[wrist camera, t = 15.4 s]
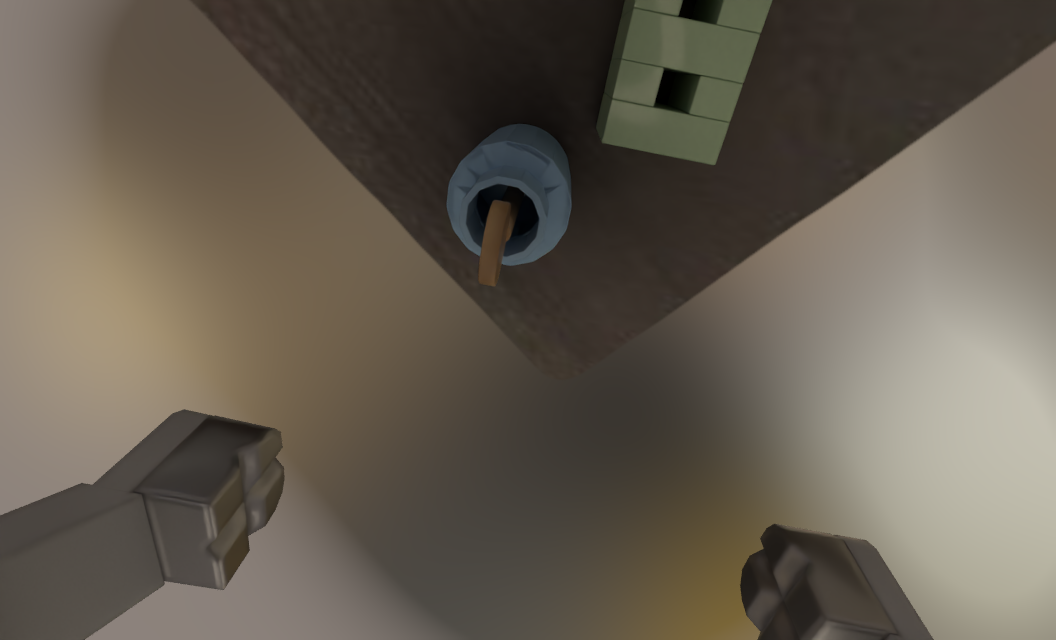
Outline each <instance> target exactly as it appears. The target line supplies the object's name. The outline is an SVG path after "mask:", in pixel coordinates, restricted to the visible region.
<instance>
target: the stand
mask: <svg viewBox="0 0 1056 640" xmlns="http://www.w3.org/2000/svg"><path fill="white" fill-rule="evenodd" d="M682 2H683V0H625V2H624V6H623V11H622V15H621V17H622V18H621V19H620V24H619V28H618V32H617V37H616V41H615V46H614V50H613V54H612V60H611V63H610V67H609V72H608V76H607V81H606V85H605V89H604V94H603V98H602V102H601V107H600V111H599V116H598V120H597V124H596V130H597V132H598V135H599V137H600V139H601V142H602V143H605V144H610V145H615V146H620V147H625V148H630V149H635V150H640V151H645V152H650V153H655V154H660V155H665V156H670V157H675V158H680V159H685V160H690V161H695V162H700V163H705V164H710V165H715V164H716V161H717V158H718V155H719V152H720V150H721V147H722V144H723V141H724V138H725V135H726V132H727V129H728V126H729V122H730V121H731V118H732V115H733V112H734V109H735V106H736V103H737V100H738V97H739V95H740V92H741V89H742V86H743V84H742V83H743V82H744V80H745V77H746V74H747V72H748V69H749V66H750V63H751V60H752V57H753V54H754V51H755V48H756V46H757V43H758V40H759V37H760V34H759V33H761V31H762V29H763V26H764V23H765V20H766V17H767V14H768V11H769V8H770V5H771V3H772V0H697V1H696V5H695V8H694V12H693V15H692V19H687V18H682V17H677V16H678V15H679V12H680V9H681V5H682ZM664 70H666V71H671V72H676V75H675V78H674V82H673V85H672V89H671V92H670V96H669V99H668V103H667V104H668V105H666V104H661V103H656V102H655V100H656V96H657V93H658V89H659V85H660V82H661V78H662V74H663V71H664Z"/></svg>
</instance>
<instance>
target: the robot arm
mask: <svg viewBox="0 0 1056 640" xmlns="http://www.w3.org/2000/svg"><path fill="white" fill-rule="evenodd" d="M282 447H283V446H282V438H281V432H280V431H278V430H277V429H275V428H270V427H265V426H261V425H256V424H252V423H247V422H242V421H238V420H233V419H229V418H224V417H219V416H212V415H207V414H202V413H198V412H193V411H189V410H181V411H178V412H176V413H173V414H172V415H170V416H169V417H168V418H167V419H166V420H165V421H164V422H162V423H161V424H160V425H159V426H158V427H157V428H156V429H155V430H154V431H152V432H151V433H150V434H149V435H148V436H147V437H146V438H145V439H143V440H142V441H141V442H140V443H139V444H138V445H137V446H135V447H134V448H133V449H132V450H131V451H130V452H129V453H128V454H127V455H125V456H124V457H123V458H122V459H121V460H120V461H119V462H118V463H116V464H115V466H113V467H112V468H111V469H110V470H109V471H107V472H106V473H105V474H104V475H103V476H102V477H101V478H100V479H99V480H98V481H96V482H95V483H94V484H93V485H90V484H83V483H81V484H78V485H76V486H73V487H71V488H68V489H66V490H63V491H61V492H59V493H56V494H53V495H51V496H48V497H46V498H43V499H41V500H38V501H36V502H33V503H31V504H28V505H26V506H23V507H20V508H18V509H15V510H13V511H10V512H8V513H5V514H3V515H0V640H85V639H86V638H87V637H89V636H91V635H92V634H93V633H95V632H96V631H98V630H99V629H101V628H102V627H104V626H105V625H107V624H108V623H110V622H111V621H112V620H114V619H115V618H117V617H118V616H120V615H121V614H123V613H124V612H126V611H127V610H128V609H130V608H131V607H133V606H134V605H136V604H137V603H139V602H140V601H142V600H143V599H145V598H146V597H147V596H149V595H150V594H152V593H153V592H155V591H156V590H158V589H159V588H161V587H162V586H163V585H164V581H168V582H174V583H180V584H187V585H194V586H201V587H207V588H214V589H220V590H224V589H225V587H226V586H227V584H228V583H229V581H230V580H231V578H232V577H233V575H234V573H235V572H236V570H237V569H238V567H239V566H240V564H241V562H242V561H243V560H244V558H245V557H246V555H247V554H248V552H249V550H250V549H249V541H248V536H249V535H251V534H252V533H254V532H256V531H257V530H259V529H261V528H263V527H264V526H266V524H267V523H268V521H269V519H270V517H271V516H272V514H273V513H274V511H275V509H276V507H277V504H278V501H279V499H280V497H281V494H282V490H283V484H284V467H283V466H282V465H281V463H280V462H279V461H278V460H277V459H276V456H277V454H278V453H279V452H280V450H281V448H282ZM760 539H761V542H762V545H763V547H764V549H763V550H760V551H758V552H756V553H754V554H752V555H750V556H749V558H748V560H747V562H746V563H745V565H744V567H743V569H742V577H741V585H740V586H741V596H742V602H743V605H744V608H745V612H746V615H747V617H748V618H749V619H750V620H751V621H752V622H753V623H754V625H755V626H756V627H757V628H758V629H759V630H760V631H761V632H760V635H759V637H758V640H934V639H933V638H932V636H931V635H930V633H929V632H928V630H927V628H926V627H925V625H924V624H923V622H922V621H921V619H920V617H919V616H918V614H917V613H916V611H915V609H914V608H913V606H912V605H911V603H910V602H909V600H908V598H907V597H906V595H905V594H904V592H903V591H902V589H901V587H900V586H899V584H898V583H897V581H896V579H895V578H894V576H893V575H892V573H891V572H890V570H889V568H888V567H887V565H886V564H885V562H884V560H883V559H882V557H881V556H880V554H879V552H878V551H877V549H876V548H875V547H874V546H872V545H871V544H870V543H869V542H868V541H866V540H861V539H856V538H850V537H845V536H839V535H832V534H828V533H822V532H817V531H812V530H806V529H801V528H795V527H790V526H784V525H779V524H773V525H771V526H770V527H768V528H766V530H765V532H764V533H763V535H762V536H761V538H760Z"/></svg>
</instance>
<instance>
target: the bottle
mask: <svg viewBox="0 0 1056 640" xmlns="http://www.w3.org/2000/svg"><path fill="white" fill-rule="evenodd" d="M508 186H513V187H518V188H519V189H520V190H521V191H523V192H524V193H525V194H524V197H523V200H522V203H521V206H520V209H519V212H518V215H517V218H516V221H515V224H514V227H513V230H512V233H511V236H510V238H509V240H508V241H507V242H506V244H505V249H504V254H503V259H502V264H504V265H511V266H512V265H517V264H523V263H528V262H533V261H535V260H537V259H538V258H540V257H541V256H543V255H545V254H546V253H548V252H549V251H551V250H552V249H553V248H554V247H555V246H556V244H557V243H558V241H559V240H560V239H561V237H562V236H563V234H564V233H565V231H566V229H567V225H568V221H569V216H570V212H571V175H570V169H569V163H568V158H567V156H566V154H565V152H564V150H563V148H562V147H561V145H560V144H559V143H558V141H557V140H556V139H555V138H554V137H553V136H552V135H550V134H549V133H548V132H546V131H544V130H543V129H541V128H539V127H536V126H532V125H527V124H514V125H509V126H505V127H502V128H499V129H498V130H496V131H495V132H494V133H492V134H491V135H490V136H488V137H487V138H486V139H484V140H483V141H482V142H481V143H480V144H479V145H478V146H477V147H476V148H475V149H473V150H472V151H471V152H470V153H469V154H468V155H467V156H466V157H465V158H464V159H463V160H462V161H461V162H460V164H459V165H458V167H457V169H456V171H455V173H454V174H453V176H452V178H451V180H450V181H449V187H448V197H447V210H448V214H449V217H450V221H451V224H452V227H453V230H454V232H455V233H456V234H457V235H458V237H459V238H460V239H461V241H462V242H463V243H464V245H465V246H466V247H467V248H468V249H469V250H470V251H472V252H474V253H475V254H477V255H479V256H480V254H481V247H482V242H483V236H484V231H485V226H486V222H487V218H488V214H489V210H490V207H491V204H492V202H493V200H500V201H501V200H502V198H503V196H504V194H505V192H506V190H507V188H508Z"/></svg>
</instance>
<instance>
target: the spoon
mask: <svg viewBox="0 0 1056 640" xmlns="http://www.w3.org/2000/svg"><path fill="white" fill-rule="evenodd" d="M524 194H525V193H524V192H523V191H521V190H520V189H519V188H518V187H513V186H508V188H507V190H506V192H505V194H504V196H503V198H502V200H501V201H500V200H493V202H492V204H491V207H490V210H489V214H488V218H487V222H486V226H485V231H484V236H483V242H482V247H481V254H480V261H479V270H478V281H479V283H480V284H484V285H489V286H495V285H496V284H497V281H498V277H499V273H500V269H501V264H502V259H503V254H504V249H505V244H506V242H507V241H508V240H509V238H510V236H511V233H512V230H513V227H514V224H515V221H516V218H517V215H518V212H519V209H520V206H521V203H522V200H523V197H524Z"/></svg>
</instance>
